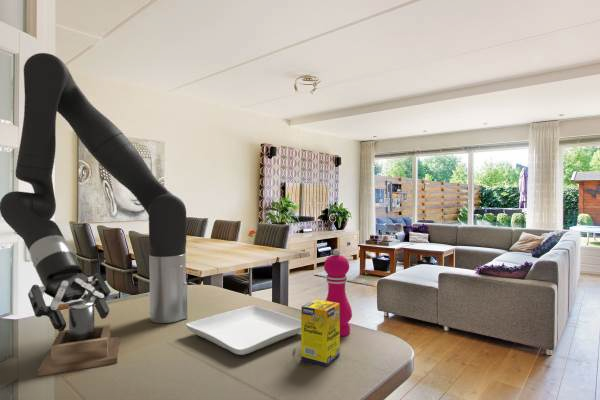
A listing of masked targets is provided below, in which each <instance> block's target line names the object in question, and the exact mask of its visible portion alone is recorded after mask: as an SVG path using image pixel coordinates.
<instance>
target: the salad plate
mask: <svg viewBox="0 0 600 400" xmlns="http://www.w3.org/2000/svg"><path fill="white" fill-rule="evenodd" d="M185 327H186V328H187V329H188V330H189V331H190V332H192V333H193V334H194V335H196V336H199V337H201V338H204V339H206V340H207V341H209V342H211V343H214V344H215V345H217V346H220V347H221V348H224V349H226V350H227V351H229V352H231V353H233V354H235V355H239V356H245V355H247V354H250V353H253V352H255V351H259V350H261V349H263V348H266V347H268V346H271V345H274V344H275V343H277V342H279V341H283V340H285V339H287V338H290V337H292V336H296V335H297V334H300V333H301V319H298V318H296V317H292V316H289V315H286V314H284V313H280V312H277V311H274V310H271V309H268V308H264V307H261V306H258V305H249V306H246V307H240V308H236V309H233V310H229V311H225V312H221V313H217V314H214V315H211V316H207V317H204V318H200V319H197V320H193V321H190V322H186V324H185Z"/></svg>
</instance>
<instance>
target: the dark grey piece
mask: <svg viewBox="0 0 600 400" xmlns="http://www.w3.org/2000/svg"><path fill="white" fill-rule="evenodd" d="M94 326H95V304H94V301H92V300H83V299H82V300H78V301H77V300H76V301H74V302H71V303H69V304H68V330H69V343H71V342H78V341H85V340H92V339H95V329H94Z"/></svg>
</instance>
